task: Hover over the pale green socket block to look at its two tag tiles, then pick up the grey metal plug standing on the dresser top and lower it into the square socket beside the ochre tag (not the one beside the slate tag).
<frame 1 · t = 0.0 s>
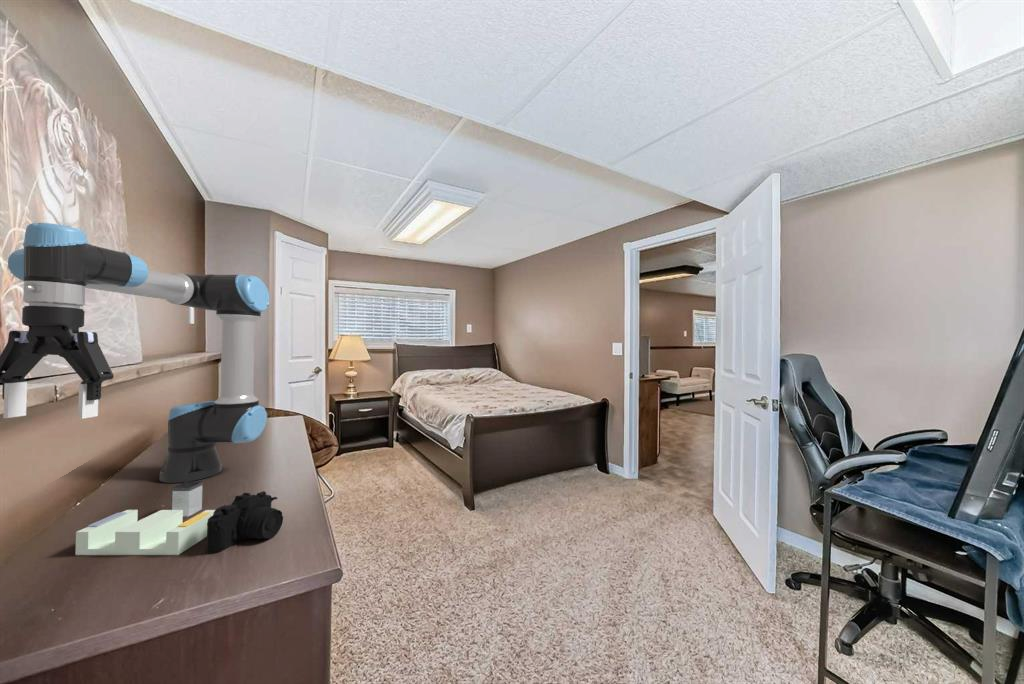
hand: (51, 417, 71), 28 cm above the dresser, fingers open, 13 cm apart
film camera: (251, 538, 82), on the dresser
socket block: (150, 541, 79), on the dresser
plug: (187, 512, 93), on the dresser
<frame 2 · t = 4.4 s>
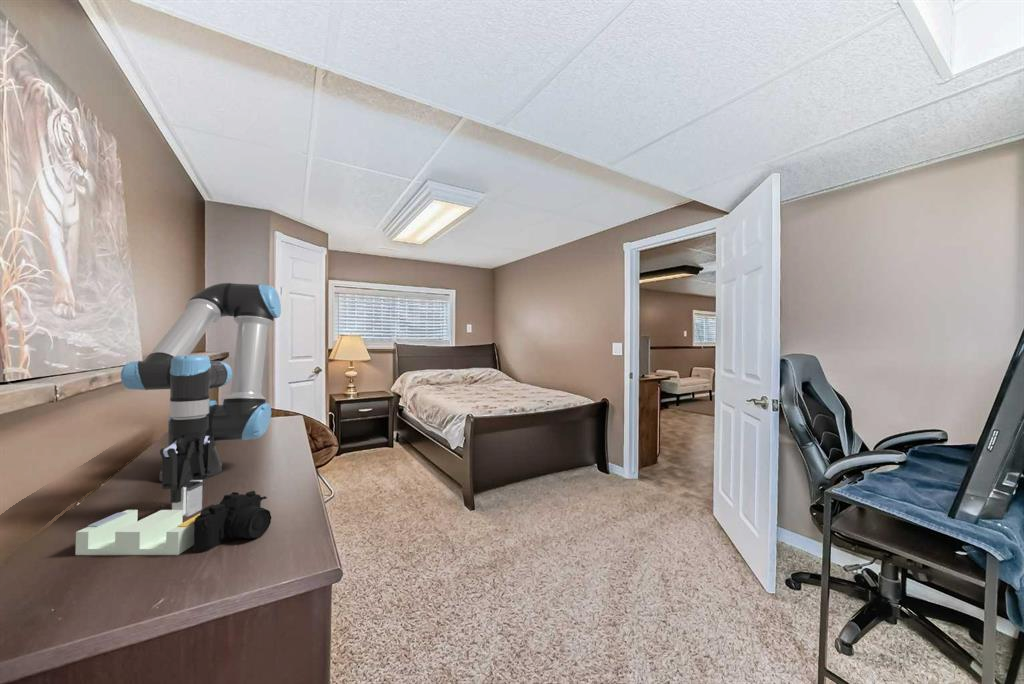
hand: (187, 509, 93), 1 cm above the dresser, fingers closed on plug, 4 cm apart
film camera: (239, 538, 82), on the dresser
plug: (187, 512, 93), on the dresser, touching gripper
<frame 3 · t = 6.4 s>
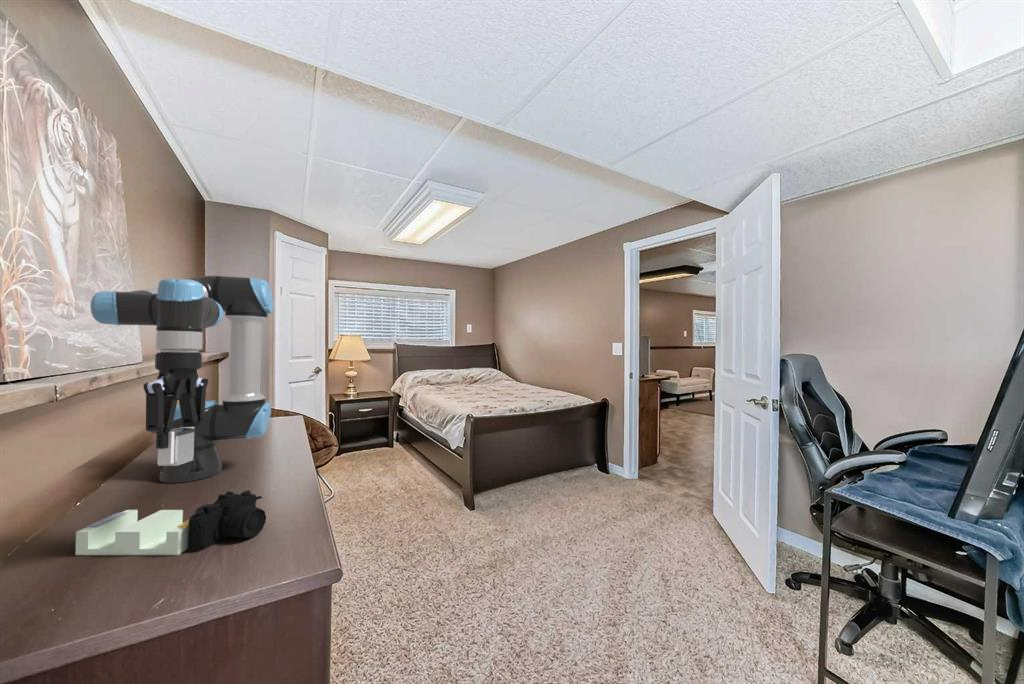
hand: (176, 459, 80), 17 cm above the dresser, fingers closed on plug, 4 cm apart
film camera: (234, 537, 82), on the dresser
plug: (175, 462, 80), point 17 cm above the dresser, touching gripper
when the fingers open (2 cm above the dresser, at t = 8.9 s): plug stays where it is, resting on socket block.
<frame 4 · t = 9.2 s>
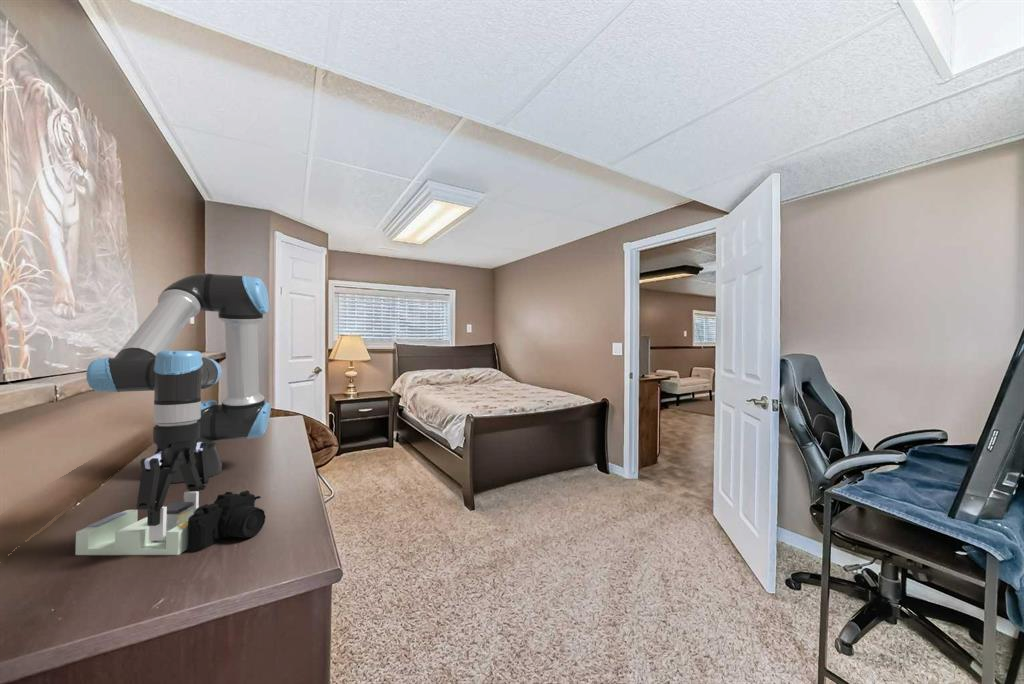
hand: (174, 529, 79), 3 cm above the dresser, fingers open, 7 cm apart
plug: (174, 538, 79), point 1 cm above the dresser, touching socket block
everything else where it was.
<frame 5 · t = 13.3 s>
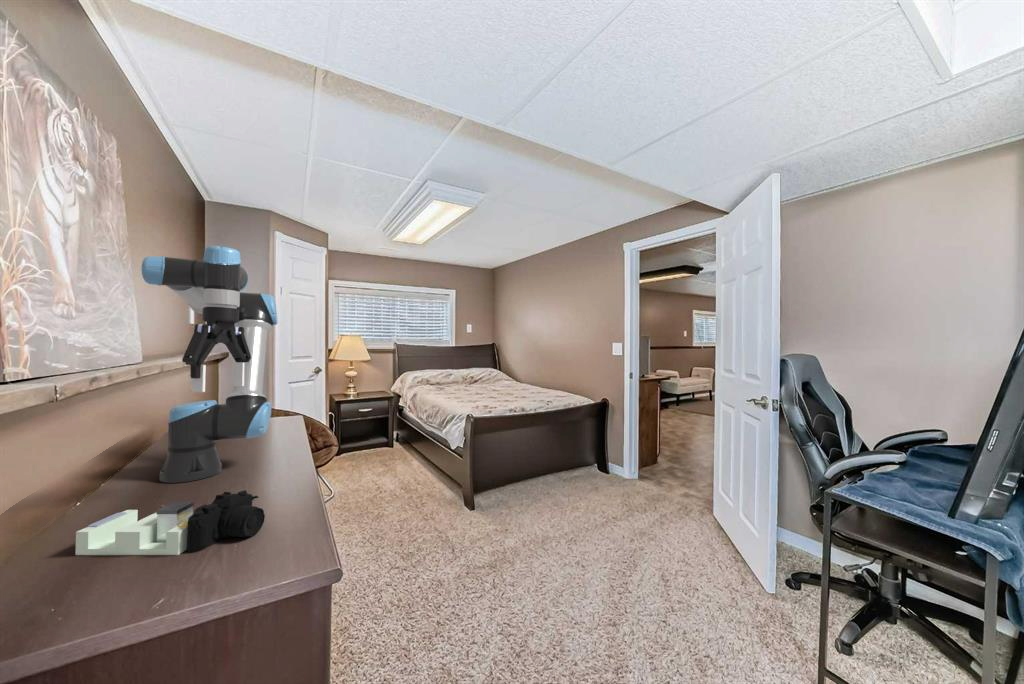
hand: (219, 388, 96), 31 cm above the dresser, fingers open, 13 cm apart
at the end: plug 0.1 cm from the target spot on the socket block, point 0.6 cm above the socket block's base; plug tilted 0°; the gripper is holding nothing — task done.
